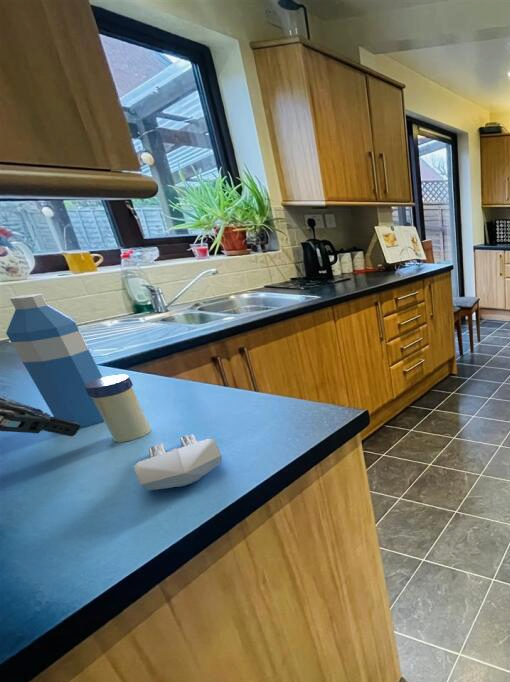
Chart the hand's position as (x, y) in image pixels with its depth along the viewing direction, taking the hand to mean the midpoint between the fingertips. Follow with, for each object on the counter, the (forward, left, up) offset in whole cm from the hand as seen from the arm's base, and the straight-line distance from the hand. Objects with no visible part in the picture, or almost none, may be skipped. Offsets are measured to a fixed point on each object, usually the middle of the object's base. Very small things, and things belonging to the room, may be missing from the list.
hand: (76, 430), depth 69 cm
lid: (+5, +3, +7) cm, 9 cm away
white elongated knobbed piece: (+19, -14, -4) cm, 23 cm away
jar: (+5, +3, -4) cm, 7 cm away
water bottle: (-6, +15, -4) cm, 17 cm away
